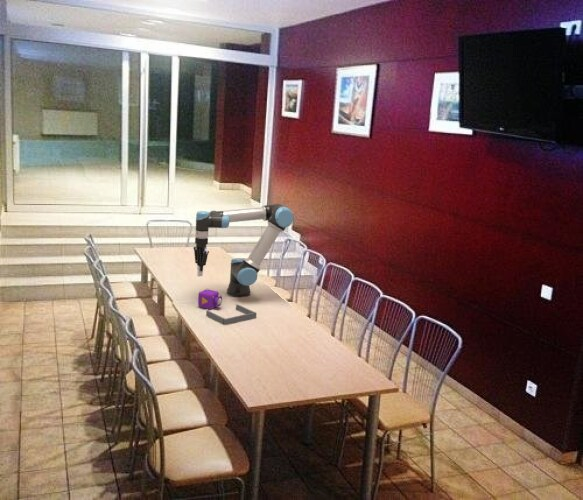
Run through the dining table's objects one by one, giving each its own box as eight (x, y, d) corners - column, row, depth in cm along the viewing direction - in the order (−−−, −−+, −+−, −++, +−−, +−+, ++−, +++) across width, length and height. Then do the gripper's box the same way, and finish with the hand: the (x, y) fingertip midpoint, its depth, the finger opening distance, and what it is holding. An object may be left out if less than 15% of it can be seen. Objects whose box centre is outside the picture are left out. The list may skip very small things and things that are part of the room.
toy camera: (218, 311, 344) (219, 295, 342) (196, 308, 347) (197, 291, 344) (224, 306, 355) (225, 290, 352) (202, 303, 357) (203, 287, 355)
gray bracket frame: (236, 309, 351) (237, 303, 350) (256, 317, 338) (256, 311, 337) (205, 315, 335) (205, 309, 335) (224, 324, 323) (224, 318, 322)
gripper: (190, 235, 352) (188, 274, 357) (202, 240, 343) (200, 279, 348) (200, 234, 357) (198, 272, 363) (213, 239, 348) (211, 277, 353)
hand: (199, 276), depth 355 cm, fingers closed
